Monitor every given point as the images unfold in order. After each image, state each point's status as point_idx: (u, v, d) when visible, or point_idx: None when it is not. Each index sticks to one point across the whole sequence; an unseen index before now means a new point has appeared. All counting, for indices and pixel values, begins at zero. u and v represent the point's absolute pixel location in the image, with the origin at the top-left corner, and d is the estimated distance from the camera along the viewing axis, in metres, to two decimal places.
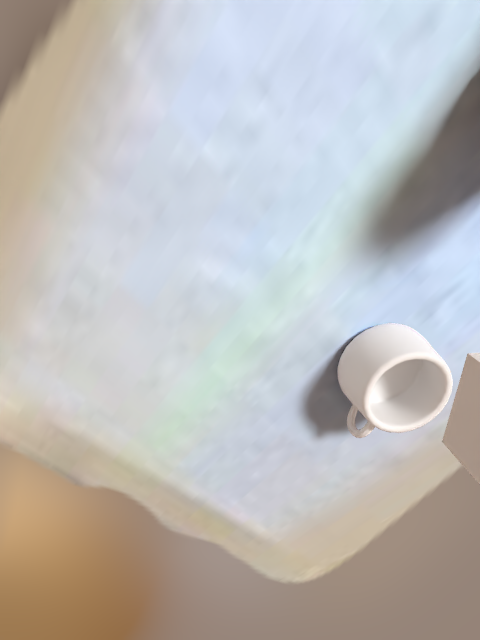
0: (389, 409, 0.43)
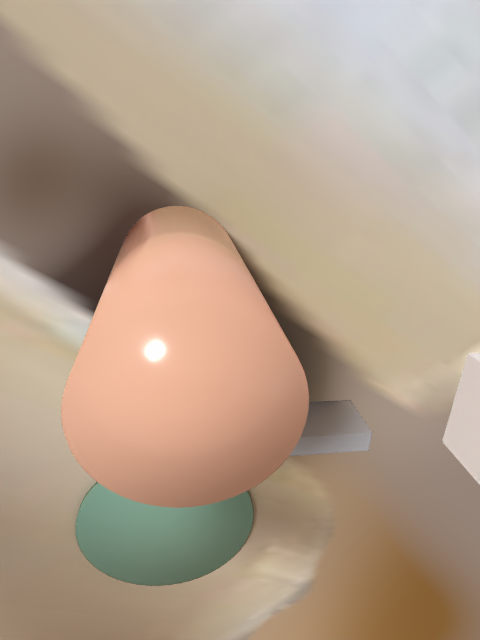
0: None
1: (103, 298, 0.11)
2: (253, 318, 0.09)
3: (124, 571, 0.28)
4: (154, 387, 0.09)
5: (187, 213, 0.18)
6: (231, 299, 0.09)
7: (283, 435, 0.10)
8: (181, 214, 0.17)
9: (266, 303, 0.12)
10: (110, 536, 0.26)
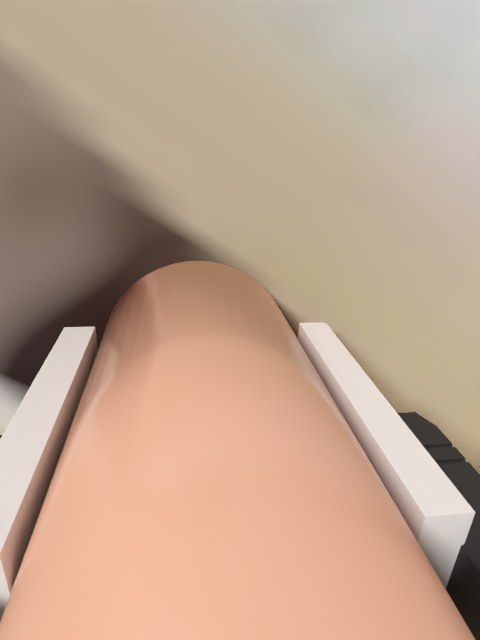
0: None
1: (11, 624, 0.04)
2: None
3: None
4: None
5: (216, 281, 0.10)
6: None
7: None
8: (206, 285, 0.10)
9: (473, 637, 0.04)
10: None
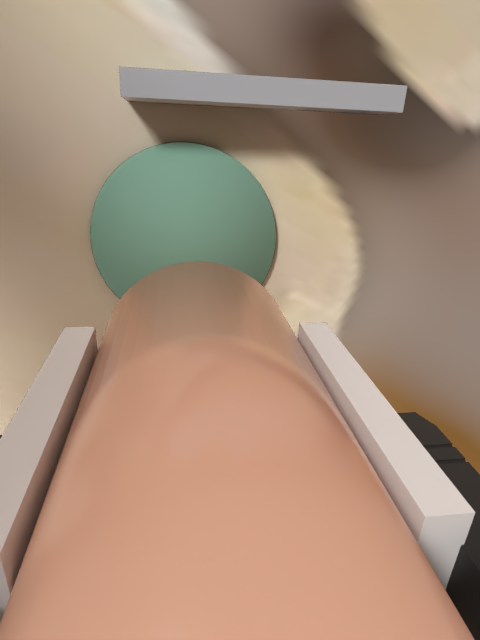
0: None
1: (11, 625, 0.04)
2: None
3: None
4: None
5: (216, 282, 0.10)
6: None
7: None
8: (206, 286, 0.10)
9: (473, 638, 0.04)
10: (126, 246, 0.25)
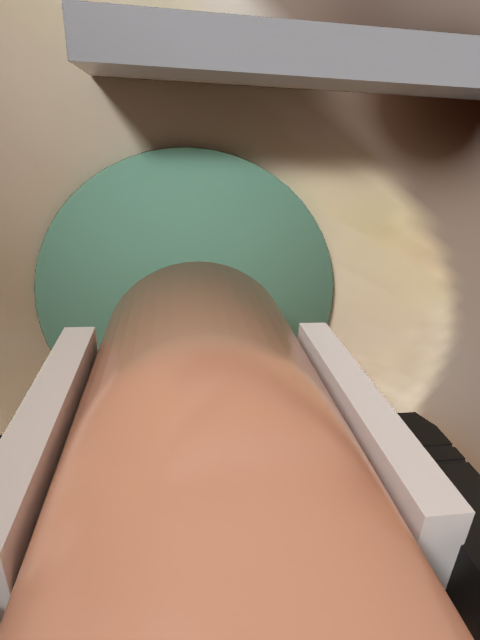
0: None
1: (11, 625, 0.04)
2: None
3: None
4: None
5: (216, 282, 0.10)
6: None
7: None
8: (206, 286, 0.10)
9: (472, 638, 0.04)
10: (95, 315, 0.15)
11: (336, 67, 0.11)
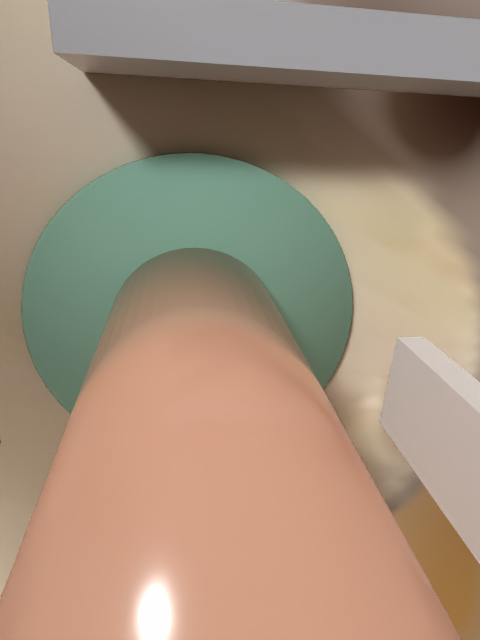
0: None
1: (44, 503, 0.05)
2: None
3: None
4: None
5: (209, 264, 0.12)
6: None
7: None
8: (200, 268, 0.11)
9: (391, 516, 0.05)
10: (89, 338, 0.14)
11: (366, 61, 0.09)
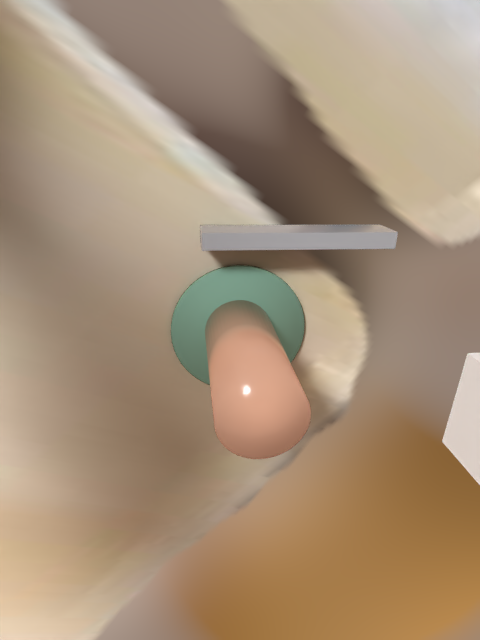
0: None
1: (219, 367, 0.26)
2: (288, 381, 0.23)
3: (204, 372, 0.36)
4: (249, 408, 0.23)
5: (246, 308, 0.32)
6: (279, 373, 0.23)
7: (300, 427, 0.24)
8: (243, 310, 0.32)
9: (292, 369, 0.26)
10: (196, 336, 0.34)
11: (296, 246, 0.30)
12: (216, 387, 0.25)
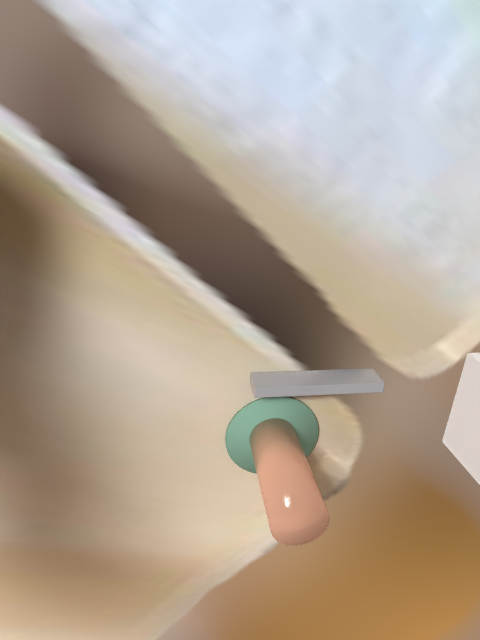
0: None
1: (270, 485, 0.40)
2: (317, 502, 0.38)
3: (246, 463, 0.50)
4: (292, 517, 0.38)
5: (280, 428, 0.47)
6: (311, 496, 0.38)
7: (322, 527, 0.39)
8: (279, 430, 0.46)
9: (316, 486, 0.40)
10: (243, 441, 0.49)
11: (317, 393, 0.44)
12: (270, 501, 0.39)
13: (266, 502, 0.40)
